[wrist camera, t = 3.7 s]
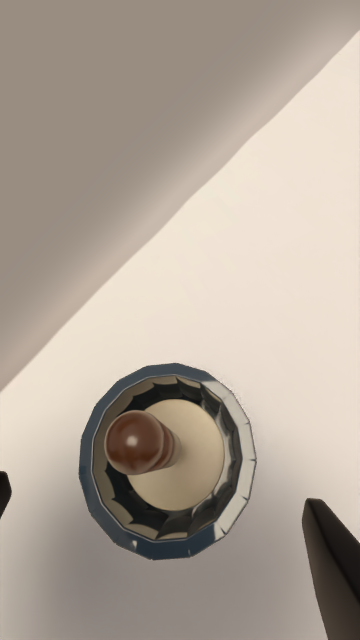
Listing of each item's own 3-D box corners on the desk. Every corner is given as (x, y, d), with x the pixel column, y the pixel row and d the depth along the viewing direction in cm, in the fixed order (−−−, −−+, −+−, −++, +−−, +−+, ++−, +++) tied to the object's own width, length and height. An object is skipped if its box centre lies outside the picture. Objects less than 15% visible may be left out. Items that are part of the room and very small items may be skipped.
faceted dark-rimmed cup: (187, 548, 17) (173, 616, 10) (104, 459, 19) (43, 459, 12) (258, 445, 19) (290, 437, 12) (175, 376, 21) (159, 334, 14)
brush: (184, 521, 17) (126, 693, 4) (122, 457, 18) (-39, 454, 6) (237, 447, 18) (302, 423, 6) (175, 394, 20) (127, 291, 8)
